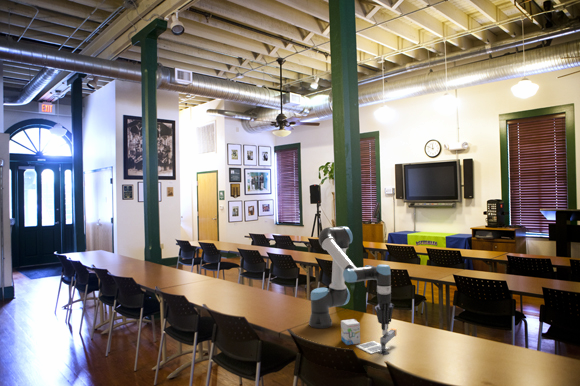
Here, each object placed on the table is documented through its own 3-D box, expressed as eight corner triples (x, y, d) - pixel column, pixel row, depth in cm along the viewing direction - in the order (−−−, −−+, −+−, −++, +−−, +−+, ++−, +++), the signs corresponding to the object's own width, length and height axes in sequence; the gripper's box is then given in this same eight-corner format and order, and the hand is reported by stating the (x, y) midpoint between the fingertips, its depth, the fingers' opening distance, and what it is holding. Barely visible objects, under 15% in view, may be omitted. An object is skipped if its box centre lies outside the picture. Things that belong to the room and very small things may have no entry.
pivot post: (378, 352, 206) (377, 343, 206) (383, 351, 208) (383, 342, 208) (383, 355, 203) (383, 346, 203) (389, 353, 205) (388, 344, 205)
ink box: (347, 345, 218) (346, 324, 219) (341, 340, 227) (340, 320, 227) (360, 343, 221) (360, 322, 221) (354, 338, 229) (353, 318, 229)
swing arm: (385, 345, 203) (384, 339, 203) (379, 344, 205) (379, 338, 205) (396, 335, 218) (396, 328, 219) (391, 334, 220) (391, 328, 220)
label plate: (355, 346, 216) (355, 345, 216) (373, 341, 222) (373, 340, 222) (371, 354, 204) (371, 353, 204) (389, 349, 211) (389, 347, 211)
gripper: (379, 295, 210) (380, 339, 209) (397, 292, 216) (398, 335, 215) (370, 293, 216) (371, 335, 216) (388, 290, 222) (389, 331, 222)
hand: (385, 335), depth 216 cm, fingers closed
